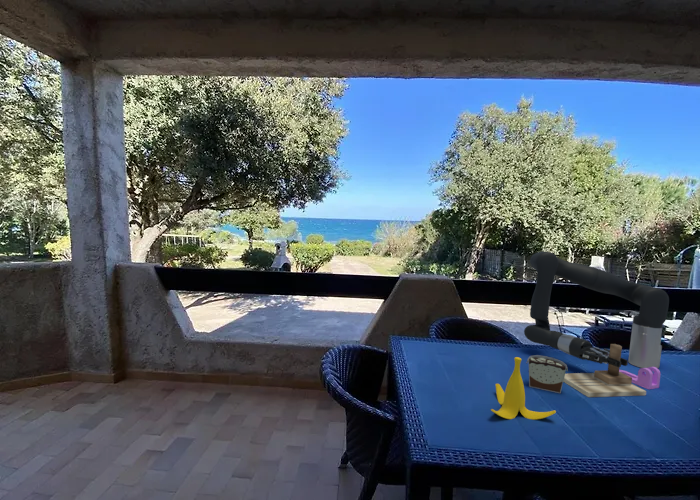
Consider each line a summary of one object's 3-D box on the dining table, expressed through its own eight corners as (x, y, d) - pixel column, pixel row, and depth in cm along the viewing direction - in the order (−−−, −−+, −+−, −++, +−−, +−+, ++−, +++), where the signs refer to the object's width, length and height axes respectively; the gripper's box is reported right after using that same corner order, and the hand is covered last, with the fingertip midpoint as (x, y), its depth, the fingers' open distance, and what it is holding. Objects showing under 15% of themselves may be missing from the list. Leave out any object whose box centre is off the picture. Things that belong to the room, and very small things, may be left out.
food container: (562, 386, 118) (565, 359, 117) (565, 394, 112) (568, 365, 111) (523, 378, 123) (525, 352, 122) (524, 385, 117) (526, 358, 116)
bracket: (658, 388, 120) (661, 369, 119) (648, 389, 118) (650, 370, 118) (619, 372, 132) (621, 355, 132) (610, 373, 131) (611, 356, 130)
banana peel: (496, 392, 112) (500, 343, 111) (556, 422, 96) (562, 366, 95) (464, 405, 103) (468, 352, 102) (523, 440, 87) (529, 378, 86)
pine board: (608, 376, 128) (609, 372, 128) (645, 395, 114) (646, 391, 114) (556, 377, 125) (557, 373, 125) (588, 397, 111) (588, 392, 111)
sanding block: (615, 377, 123) (619, 342, 122) (631, 385, 117) (635, 348, 116) (593, 377, 122) (597, 342, 121) (608, 386, 116) (612, 348, 115)
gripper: (563, 338, 129) (612, 355, 113) (586, 335, 135) (637, 351, 119) (561, 357, 130) (610, 377, 114) (584, 353, 135) (634, 371, 119)
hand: (623, 363), depth 117 cm, fingers closed on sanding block, 3 cm apart
